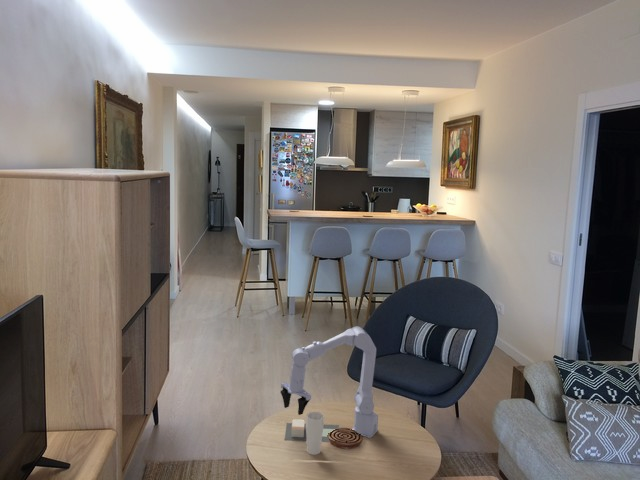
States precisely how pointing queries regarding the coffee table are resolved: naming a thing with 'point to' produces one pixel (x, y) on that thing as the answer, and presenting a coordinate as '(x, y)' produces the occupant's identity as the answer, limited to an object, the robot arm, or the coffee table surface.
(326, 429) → the mat
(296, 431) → the card box
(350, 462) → the coffee table surface
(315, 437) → the white cylinder
